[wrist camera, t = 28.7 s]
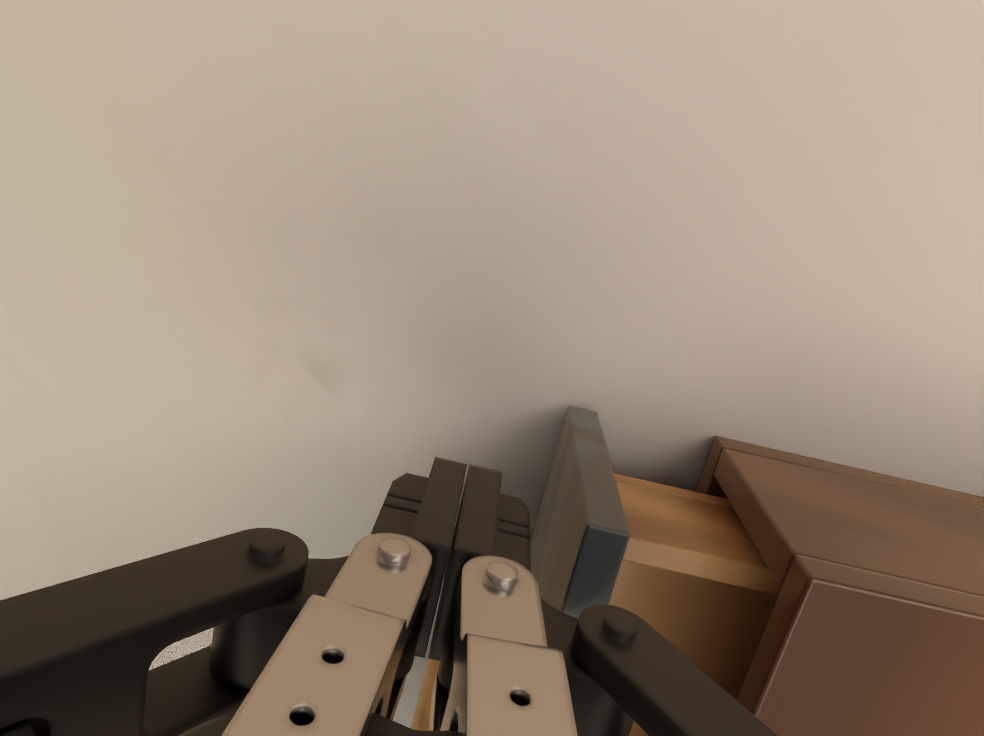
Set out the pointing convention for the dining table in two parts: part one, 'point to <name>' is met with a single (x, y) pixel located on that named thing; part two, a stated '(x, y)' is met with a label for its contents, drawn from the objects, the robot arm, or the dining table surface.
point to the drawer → (644, 560)
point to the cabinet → (859, 596)
